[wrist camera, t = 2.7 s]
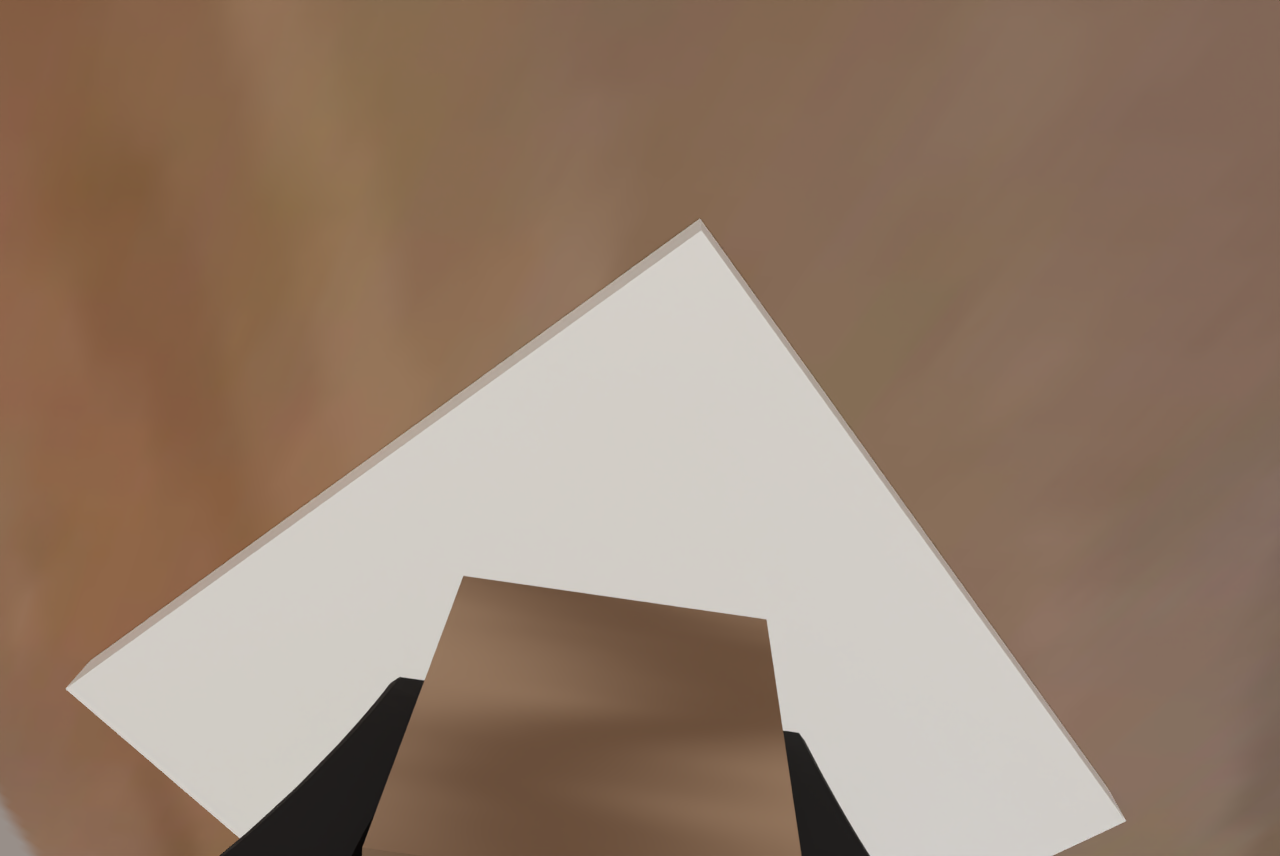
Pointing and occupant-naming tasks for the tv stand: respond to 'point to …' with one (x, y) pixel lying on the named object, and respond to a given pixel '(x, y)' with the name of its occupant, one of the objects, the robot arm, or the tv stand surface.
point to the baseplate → (622, 577)
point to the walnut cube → (590, 734)
